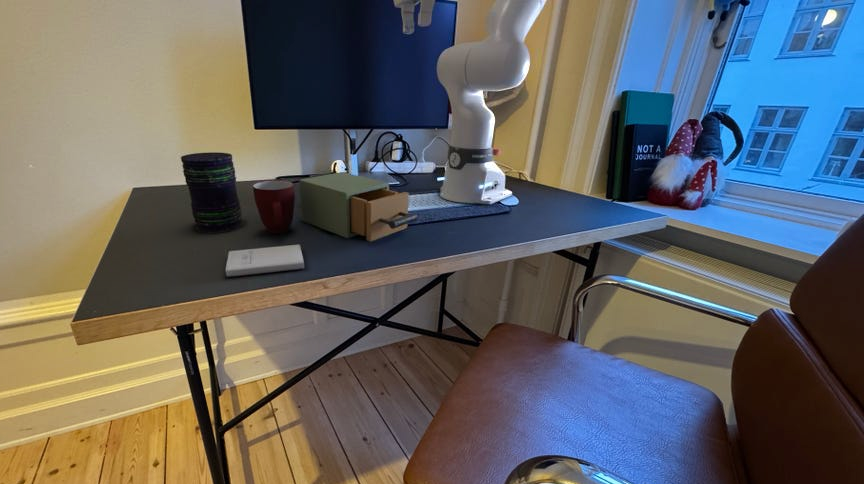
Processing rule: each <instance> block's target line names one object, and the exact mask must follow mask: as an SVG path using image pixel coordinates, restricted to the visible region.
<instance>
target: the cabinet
mask: <svg viewBox="0 0 864 484" xmlns="http://www.w3.org/2000/svg"><path fill="white" fill-rule="evenodd" d="M298 180H299V195H300V207H301V217H302V222H304V223H307V224H309V225H312V226H314V227H317V228H320V229H322V230H325V231H327V232H330V233H332V234H335V235H337V236H341V237H342V238H345V239H350V238H353V237H356V236H359V235H360V234H357V233H355V232H352V231H350V212H349V196H351V195H355V194H360V193H364V192H368V191H372V190H376V189H380V188H383V189H387V190H390V183H389V182H388V181H387V182H386V181H382V180H378V179H373V178H371V177H370V178H369V177H365V176H361V175H356V174H352V173H349V172H348V173H347V172H343V171H340V172H334V173H329V174H323V175H318V176H312V177H306V178H302V179H298Z"/></svg>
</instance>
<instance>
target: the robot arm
mask: <svg viewBox="0 0 864 484" xmlns="http://www.w3.org/2000/svg"><path fill="white" fill-rule="evenodd" d="M419 3H420V7H419V12H418V13H417V14H418V16H417V17H418V18H417V25H418V26H419V27H425V28H426V27H428V26H431V23H432V14H433V10H434V6H435V3H436V0H393V4H394V7H395V8H398V9H401V10H400V11H401V12H400V13H401V18H402V33H403V34H405V35H411V34H413V33H414V32H415V23H416V22H415V21H414V12H415V7H416V6H417V5H418V4H419ZM546 3H547V0H495V1H494V3H493V4H492V6H491V8H490V9H489V11H488V12H487V15H486V19H485V25H486V30H487V34H488V36H487V37H485V38H484V39H482V40H479V41H470V42H461V43H457V44H455V45H452V46H450V47H448V48H446V49H444V50H443V51H442V52H441V53H440V55H439V57H438V59H437V63H436V73H437V74H436V75H437V79H438V81H439V83H440V85H442V86H443V88H444V90H445V91H446V93H447V97H448V100H449V102H450V108H451V134H450V135H451V136H450V143H449V145H448V149H447V160H448V162H447V164H446V166H445V171H444V176H443V177H437V181H443V182H442V186H440V189H439V191H440V192H439V196H440V198H442V199H444V200H447V201H450V202H455V203H463V204H481V205H492V204H494V203H497V202H499V201H501V200H502V201H503V200H504V199H506V198H509V197H511V196H512V195H513V192H512V191H511V190H509V189H507V188H506V173H504V171H502V170H501V168H500V167H499V166H498V165H497V164H496V163H495V162H494V156H496V157H499V155H500V154H501V151H502V150H501V149H500V148H496V147H492V144H493V143H492V142H493V138H494V137H493V136H494V130H495V129H494V128H495V123H496V118H495V115H494V113H493V112H492V111H491V110H490V109H489V108H488V107H487V105H486V103H485V99H484V92H500V91H505V90H510V89H513V88H517V87H519V86H520V85H521V84H522V83H523V82H524V80H525V79H526V77H527V75H528V73H529V69H530V65H531V56H530V51H529V49H528V47H527V45H526V44H525V43H524V42H525V40H526V37H527V35H528V33H529V31H530V30H531V28H532V26H533V24H534V23H535V21H536V19H537V18H538V17H539V15H540V13H541V12H542V10H543V8H544V6H545V4H546ZM441 193H442V194H443V195H442V194H441ZM502 194H503V195H502ZM504 194H505V195H504Z"/></svg>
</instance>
